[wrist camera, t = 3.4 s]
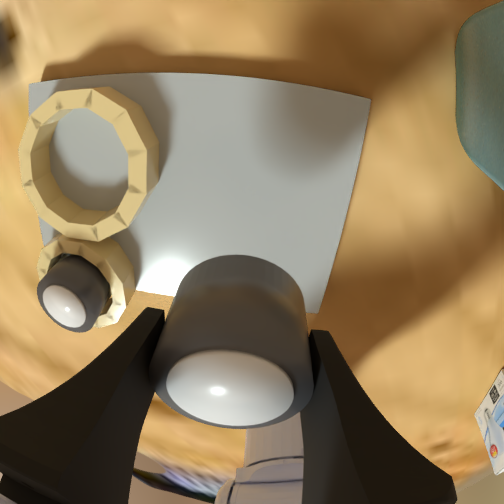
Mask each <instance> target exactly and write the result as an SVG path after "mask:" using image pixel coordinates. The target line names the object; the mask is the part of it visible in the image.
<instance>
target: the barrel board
mask: <svg viewBox="0 0 504 504" xmlns="http://www.w3.org/2000/svg"><path fill="white" fill-rule="evenodd" d="M370 104H371V99H368V98H364V97H360V96H356V95H351V94H347V93H342V92H338V91H333V90H328V89H323V88H318V87H313V86H307V85H301V84H295V83H289V82H282V81H275V80H267V79H259V78H250V77H240V76H229V75H216V74H198V73H124V74H107V75H94V76H83V77H74V78H65V79H58V80H50V81H44V82H38V83H32V84H29V119H28V122H27V125H26V128H25V131H24V133H23V136H22V139H21V143H20V146H19V149H18V152H19V163H20V173H21V181H22V187H23V188H24V190H25V192H26V194H27V196H28V198H29V199H30V201H31V203H32V205H33V207H34V208H35V210H36V212H37V214H38V217H39V223H40V228H41V234H42V239H43V244H44V247H43V248H42V249H41V253H40V257H39V261H38V264H37V271H38V275H39V279H40V282H39V284H38V287H37V295H38V299H39V302H40V304H41V306H42V308H43V310H44V311H45V312H46V314H47V315H48V316H49V317H50V318H51V319H52V320H53V321H54V322H55V323H57V324H58V325H60V326H61V327H63V328H65V329H67V330H70V331H73V332H86V331H88V330H90V329H91V328H92V327H97V328H100V327H103V326H107V325H110V324H114V323H117V322H118V320H119V318H120V316H121V315H122V313H123V311H124V310H125V308H126V307H127V305H128V303H129V301H130V299H131V297H132V295H133V294H134V292H135V290H140V291H146V292H152V293H159V294H165V295H171V296H175V294H176V291H177V289H178V286H179V284H180V282H181V280H182V279H183V277H184V276H185V275H186V274H187V273H188V272H189V271H190V270H191V269H192V268H193V267H195V266H196V265H198V264H200V263H201V262H203V261H206V260H208V259H211V258H214V257H218V256H223V255H236V254H238V255H249V256H254V257H258V258H261V259H264V260H267V261H269V262H272V263H274V264H276V265H277V266H279V267H281V268H282V269H283V270H285V271H286V272H287V273H288V274H289V275H290V276H291V277H292V278H293V279H294V280H295V281H296V283H297V284H298V286H299V288H300V289H301V291H302V294H303V297H304V303H305V311H306V313H316V314H318V312H319V309H320V306H321V303H322V300H323V296H324V293H325V290H326V286H327V283H328V280H329V276H330V273H331V269H332V266H333V262H334V259H335V255H336V252H337V248H338V245H339V241H340V237H341V233H342V230H343V226H344V222H345V218H346V214H347V210H348V206H349V202H350V198H351V194H352V190H353V186H354V181H355V177H356V173H357V168H358V164H359V159H360V154H361V150H362V145H363V140H364V135H365V130H366V125H367V120H368V115H369V110H370ZM111 295H112V298H110V297H111ZM109 298H110V299H109Z"/></svg>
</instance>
